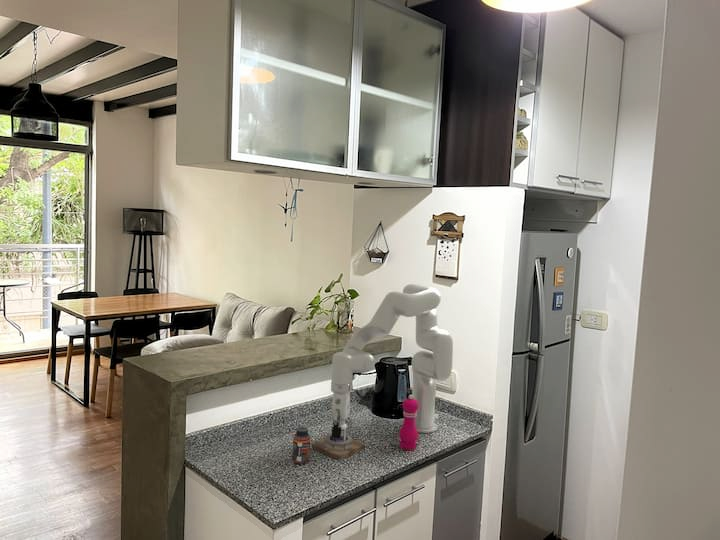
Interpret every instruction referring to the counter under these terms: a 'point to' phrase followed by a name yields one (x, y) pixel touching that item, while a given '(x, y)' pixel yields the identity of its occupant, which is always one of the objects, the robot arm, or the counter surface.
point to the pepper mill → (409, 424)
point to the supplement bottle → (301, 446)
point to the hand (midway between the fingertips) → (339, 432)
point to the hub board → (338, 452)
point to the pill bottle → (342, 433)
